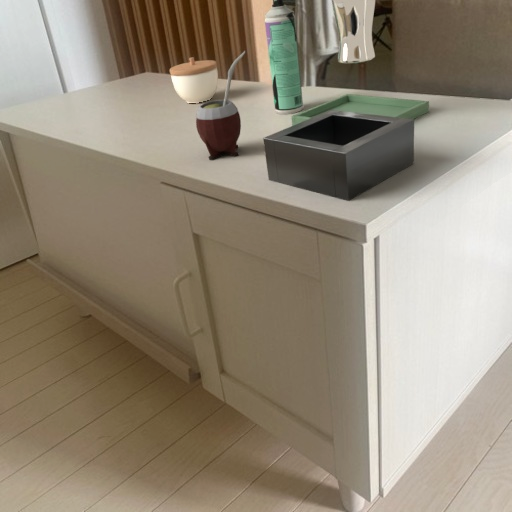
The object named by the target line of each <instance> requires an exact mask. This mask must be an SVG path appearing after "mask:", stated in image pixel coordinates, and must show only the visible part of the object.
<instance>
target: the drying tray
mask: <svg viewBox="0 0 512 512" xmlns="http://www.w3.org/2000/svg"><path fill="white" fill-rule="evenodd" d="M429 109H430V101H428V100H420V99H409V98H400V97H399V98H398V97H385V96H374V95H363V94H352V93H346V94H344V95H341V96H339V97H336V98H334V99H330V100H329V101H326V102H323V103H321V104H319V105H316V106H314V107H311V108H309V109H306V110H304V111H303V110H302V111H300V112H297V113H296V114H293V115H291V116H290V118H291V126H293V125H296V124H298V123H301V122H303V121H305V120H308V119H310V118H313V117H315V116H318V115H320V114H322V113H325V112H327V111H330V110H337V111H346V112H355V113H363V114H372V115H380V116H389V117H397V118H405V119H414V120H415V119H416V118H418V117H422V115H424V114H427V113H429V111H430V110H429Z"/></svg>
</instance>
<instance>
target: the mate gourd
mask: <svg viewBox="0 0 512 512" xmlns="http://www.w3.org/2000/svg"><path fill="white" fill-rule="evenodd" d="M245 54H246V50H244V51H243V52H242V53H241V54H240V55H239V56H238V57H237V58H236V59H235V60H234V61H233V63H232V64H231V65H230V68H228V71H227V80H226V86H225V92H224V99H217V100H210V101H206V102H203V103H201V104H200V105H199V106H198V109H197V111H196V115H195V126H196V130H197V133H198V135H199V138H200V139H201V141H202V142H203V143H204V144H205V146H206V147H205V148H206V149H207V151H208V153H209V156H208V160H209V161H214V160H215V159H217V158H221V157H222V156H230V157H238V156H239V153H240V152H238V151H237V149H239V145H238V140H239V139H240V135H241V129H242V122H241V115H240V112H239V109H238V107H237V106H236V104H235V103H234V102H233V101H232V100H229V95H230V90H231V83H232V77H233V76H234V73H235V68H236V67H237V64H238V63H239V62H240V60H241V59H242V58H243V56H244V55H245Z"/></svg>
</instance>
